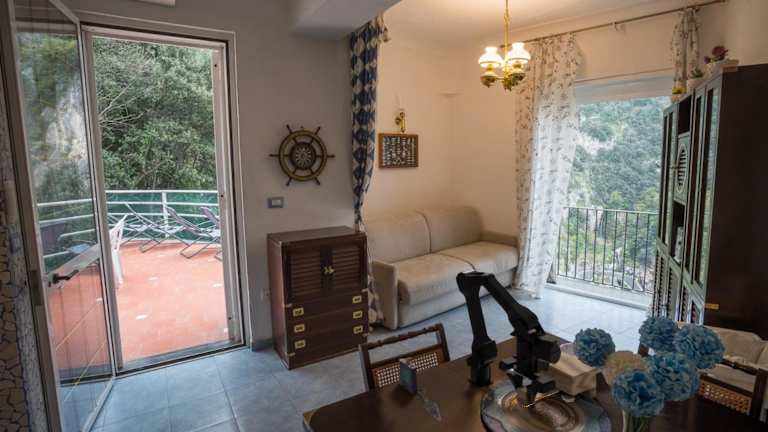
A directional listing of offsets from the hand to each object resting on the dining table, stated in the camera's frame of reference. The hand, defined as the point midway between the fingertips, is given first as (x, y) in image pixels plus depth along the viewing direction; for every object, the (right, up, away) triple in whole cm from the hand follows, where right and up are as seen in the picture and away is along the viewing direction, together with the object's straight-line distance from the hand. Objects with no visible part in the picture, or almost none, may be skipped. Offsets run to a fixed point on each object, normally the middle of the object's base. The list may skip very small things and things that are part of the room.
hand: (525, 399), depth 128 cm
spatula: (+6, -1, +3) cm, 6 cm away
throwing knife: (-30, -3, +2) cm, 31 cm away
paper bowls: (+26, +1, +19) cm, 32 cm away
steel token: (+14, -1, +2) cm, 14 cm away
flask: (-36, -2, +13) cm, 38 cm away
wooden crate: (+15, 0, +6) cm, 17 cm away
